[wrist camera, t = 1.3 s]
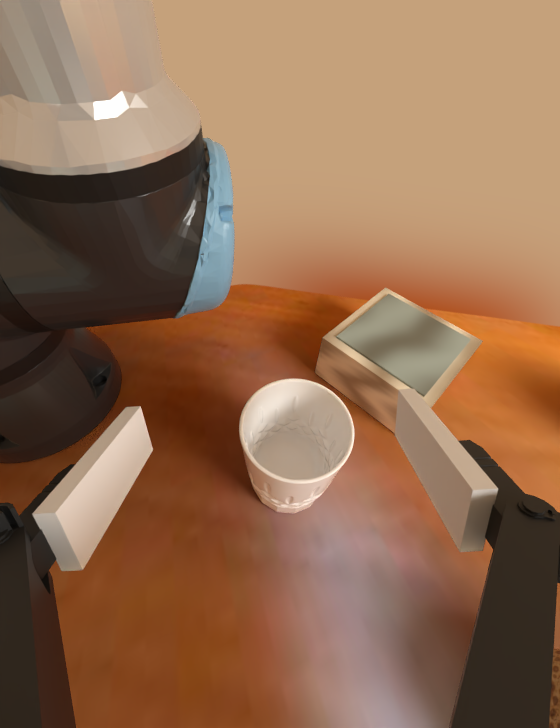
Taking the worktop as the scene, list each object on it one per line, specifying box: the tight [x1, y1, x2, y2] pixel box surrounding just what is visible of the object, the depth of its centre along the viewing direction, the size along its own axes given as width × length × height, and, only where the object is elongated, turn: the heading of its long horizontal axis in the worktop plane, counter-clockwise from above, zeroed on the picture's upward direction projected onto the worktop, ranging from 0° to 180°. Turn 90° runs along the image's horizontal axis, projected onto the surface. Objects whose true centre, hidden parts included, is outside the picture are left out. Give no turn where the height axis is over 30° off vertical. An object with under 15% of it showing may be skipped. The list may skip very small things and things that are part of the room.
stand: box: [315, 288, 483, 433], centre depth 35 cm, size 12×12×6 cm
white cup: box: [239, 379, 354, 513], centre depth 25 cm, size 8×8×10 cm
